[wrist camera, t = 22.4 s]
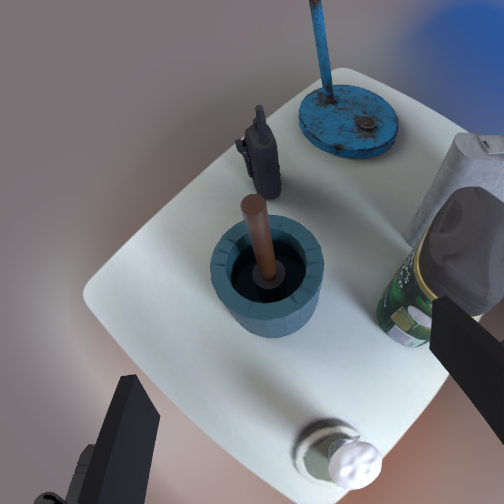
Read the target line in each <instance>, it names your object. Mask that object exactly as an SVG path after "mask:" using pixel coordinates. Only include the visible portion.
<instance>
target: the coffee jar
mask: <svg viewBox="0 0 504 504" xmlns="http://www.w3.org/2000/svg"><path fill="white" fill-rule="evenodd" d="M445 295H446V296H448V297H449V298H450V299H451V300H452V301H454V302H455V303H456V304H457V305H458V306H459V307H461V308H462V309H463V310H464V311H465V312H466V313H468V314H469V315H470V316H471V317H472V318H477V317H479V316H481V315H483V314H485V313H486V312H488V311H489V310H490V309H491V308H492V307H494V306H495V305H496V304H497V303H498V302H500V300H501V299H502V298H503V297H504V203H503V202H502V201H501V200H500V199H498V198H497V197H496V196H494V195H493V194H491V193H490V192H488V191H487V190H485V189H483V188H482V187H480V186H477V187H473V186H470V187H463V188H460V189H457V190H456V191H454V192H453V193H452V194H451V195H450V196H449V197H448V199H447V200H446V202H445V203H444V204H443V206H442V207H441V209H440V210H439V211H438V213H437V214H436V216H435V217H434V219H433V220H432V222H431V223H430V225H429V226H428V228H427V229H426V230H425V232H424V233H423V235H422V236H421V238H420V239H419V241H418V242H417V244H416V245H415V246H414V248H413V250H412V251H411V253H410V254H409V256H408V257H407V259H406V260H405V262H404V263H403V265H402V266H401V268H400V269H399V270H398V272H397V273H396V275H395V276H394V278H393V279H392V281H391V282H390V284H389V285H388V287H387V289H386V290H385V292H384V294H383V296H382V298H381V300H380V302H379V305H378V308H377V320H378V322H379V325H380V326H381V328H382V329H383V330H384V331H385V332H386V333H387V334H388V335H389V336H391V337H392V338H393V339H394V340H396V341H398V342H399V343H401V344H403V345H405V346H409V347H418V346H421V345H423V344H425V343H427V342H429V341H430V334H431V319H432V300H434V299H437V298H440V297H442V296H445Z"/></svg>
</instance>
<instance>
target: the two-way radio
mask: <svg viewBox="0 0 504 504" xmlns="http://www.w3.org/2000/svg"><path fill="white" fill-rule="evenodd" d="M255 109H256V118H254V120H253V125H251V126H250V127H249V128H247V129H246V131H245V137H244V140H241V139H238V140H235V143H236V147H237V150H238V152H240V153H241V154H242V155H243V157H244V160H245V163H246V167H247V171H248V174H249V177H251V178H252V179H253V183H254V186H255V189H256V191H257V193H258V195H261V196H262V197H263V198H265V199H274V198H276V197H278V196H279V195H280V193H281V180H280V176H281V174H280V171H279V170H280V166H279V162H278V152H277V144H276V140H275V138H274V135H273V133H272V131H271V129H270V127H269V126H268V125H267V124H266V120H265V115H264V110H263V107H262V106H261V105H257V106H256V108H255ZM248 158H249V159H248ZM248 160H249V162H248ZM249 165H250V166H249ZM250 170H251V171H250Z"/></svg>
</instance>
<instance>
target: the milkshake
mask: <svg viewBox="0 0 504 504" xmlns="http://www.w3.org/2000/svg"><path fill="white" fill-rule="evenodd" d="M359 437H360V436H355V437H354V439H351V438H344V437H341V438H339V439H337V440H335V441H333V442H332V443H331V445H330V446H329V448H328V459H329V475H330V478H331V480H332V481H333V483H334V484H335V485H337V486H339V487H341V488H344V489H348V490H353V489H359V488H362V487H365V486H367V485H368V484H370V483H371V482H372V481H373V480H374V479H375V478H376V477H377V476H378V475H379V473H380V470H381V466H382V459H381V454H380V452H379V451H378V450H377V449H376V448H375V447H374V446H373V445H371V444H370V443H367V442H362V441H358V439H359Z"/></svg>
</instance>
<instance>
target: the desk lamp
mask: <svg viewBox="0 0 504 504" xmlns="http://www.w3.org/2000/svg"><path fill="white" fill-rule="evenodd" d="M309 4H310V9H311V15H312V22H313V28H314V34H315V41H316V48H317V54H318V59H319V67H320V73H321V80H322V85H323V87H322V88H320V89H317V90H314V91H313V92H311V93H310V94H308V95H307V96H306V97H305V99H304V100H303V101H302V102H301V106H300V109H299V123H300V128H301V130H302V132H303V133H304V135H305V136H306V137H307V138H308V139H309V141H310V142H311V143H312V144H314V145H315V146H317V147H319V148H320V149H322V150H323V151H326V152H328V153H331V154H334V155H336V156H341V157H347V158H368V157H373V156H377V155H379V154H381V153H383V152H385V151H387V150H388V149H389V148H390V147H391V146H392V145H393V144H394V141H395V139H396V136H397V132H398V118H397V115H396V113H395V111H394V109H393V108H392V107H391V106H390V104H389V103H388V102H386V101H385V100H384V99H383V98H382V97H380V96H378V95H377V94H375V93H373V92H371V91H369V90H366V89H363V88H360V87H355V86H349V85H332V77H331V70H330V63H329V55H328V48H327V41H326V33H325V26H324V18H323V11H322V5H321V0H309Z"/></svg>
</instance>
